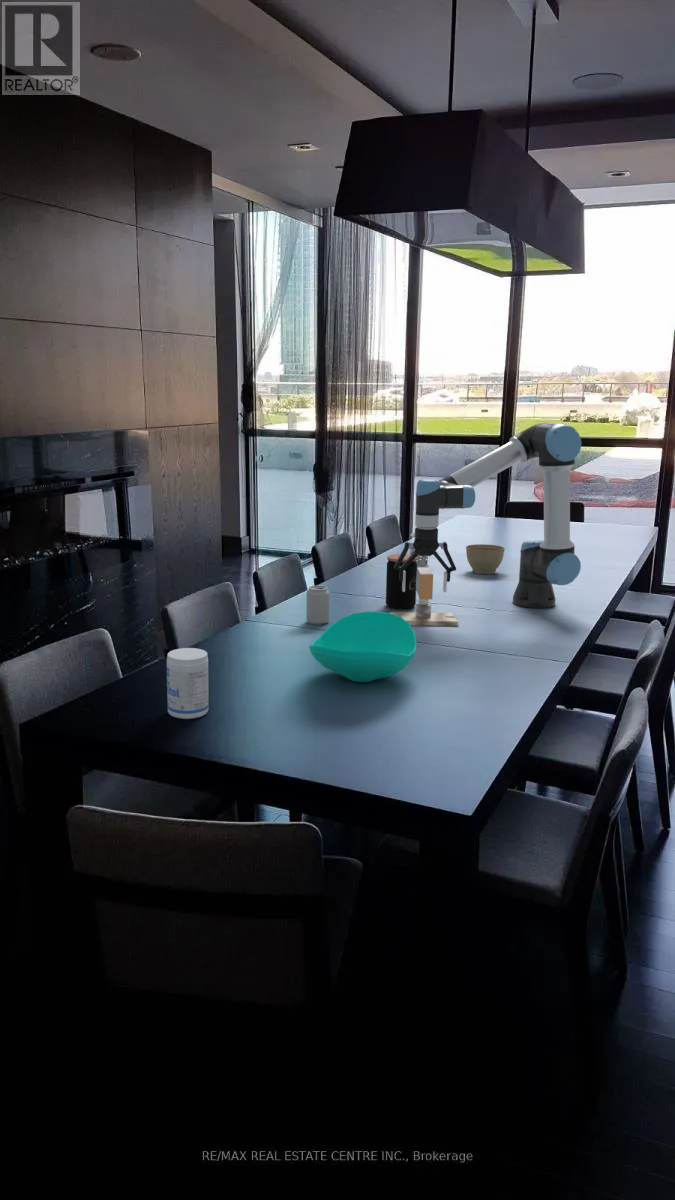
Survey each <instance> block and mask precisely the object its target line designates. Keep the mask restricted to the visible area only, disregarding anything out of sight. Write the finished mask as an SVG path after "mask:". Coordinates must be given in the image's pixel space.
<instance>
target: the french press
mask: <svg viewBox="0 0 675 1200" xmlns="http://www.w3.org/2000/svg"><path fill="white" fill-rule="evenodd" d="M409 537H412V538H415V531H414V532H412V533H409ZM414 551H415V548H414V547H413V546H412V547H411V548H410V549H409V555H412V553H413V552H414ZM428 557H429V556H420V555H418V556H417V560H416V563H417V567H428V568H430V565H429V564H428V562H429V561H428Z"/></svg>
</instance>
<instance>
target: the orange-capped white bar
mask: <svg viewBox="0 0 675 1200" xmlns="http://www.w3.org/2000/svg"><path fill="white" fill-rule="evenodd" d="M433 589H434V573H433V572H432V570H431V569H430V567H417V581H416V595H417V596H418V598H419V599H418V604H420V605H428V604H429V600H433V592H434V590H433Z"/></svg>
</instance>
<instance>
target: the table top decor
mask: <svg viewBox="0 0 675 1200" xmlns="http://www.w3.org/2000/svg"><path fill="white" fill-rule="evenodd" d="M417 646H418V645H417V638H416V634H415V631H414V630H413V628H412V625H410V624H409V623H408V622H406V621H405V620H404V619H403V618H402V617H400V616H397V615H394V614H391V613H389V612H382V611H361V612H353V613H352V614H348V615H346V616H343V617H341V618H339V619H338V620H336V621H335V622H334V623H332V624H331V625H329V627H328V628H326V630H325V631H324V632H322V634H321V635H320V636H318V637H317V638H315V640H314V641H312V643H311V644H310V645H309V650H310V654H311V655H312V657H313V658H314V659H315V660H316V662H318V663H319V664H321V666H323V667H324V668H326V669H327V670H329V671H332V672H333V673H335V674H338V675H340V676H342V677H345V679H348V680H350V681H352V682H359V683H369V682H373V681H375V680H381V679H385V678H388V677H391V676H395V675H396V674H398V673H399V672H401V671H402V670H403V669H405V668H406V666H408V664H409V663H410V662H412V661H411V660H413V658H414V657H415V654H416V649H417Z"/></svg>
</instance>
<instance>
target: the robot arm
mask: <svg viewBox="0 0 675 1200" xmlns="http://www.w3.org/2000/svg"><path fill="white" fill-rule="evenodd" d="M581 449H582V439H581V435H580V434H579V432H578V430H577V429H575V428H574V427H573V426H571V425H568V424H564V423H553V422H552V423H551V422H550V423H549V422H539V423H536V424H534V425H532V426H530V427H528V428H525V429H524V430H522V431H521V432H519V433H517V434H515V435H513V436H511V437H510V438H509V441H508V442H506V444H503V445H501V446H500V447H498V448H496V449H494V450H493V451H492V450H491V452H489V453H487V454H485V455H484V456H481V457H480V458H478V459H476V460H474V461H473V462H471V463H468V464H467V465H465V466H463V467H462V468H459V469H458V470H457V471H453V472H452V473H451V474H449V475H448V476H445V477H443V478H441V479H435V478H422V479H418V481H417V483H416V487H415V488H416V489H415V490H416V491H415V522H414V525H415V528H414V532H415V537H414V539H413V542H411V541H404V545H403V546H404V547H403V549H402V551H401V552H400V553H399V554H400V556H399V558H398V560H397V562H396V564H395V565H394V569H395V570H398V571H399V580H400V581H402V591H403V592H405V578H406V572H405V571H404V570H405V569H406V568H407V567H408V565H409V564H410V563H411V562H412V561H413V560H414V559H415V558H416V557H417V556H418V555H420V556H419V557H421V556H426V557H427V556H428V557H431V556H434V557H435V558H436V560H437V561H438V562H439V564H440V565H441V566H442V567H443V568H444V569H445V570H443V585H442V591H443V593H447V588H448V587H447V584H448V583H449V582H451V573H452V572H455V571H457V567H456V565H455V562H454V560H453V558H452V556H451V554H450V551H449V550H448V549H449V548H448V543H447V542H446V541H443V542H439V541H438V540H439V529H438V527H439V522H440V521H439V519H440V517H439V516H440V515H439V514H440V509H441V510H444V509H463V510H464V509H470V508H472V507H473V506H474V504H475V502H476V490H475V488H474V487H476V486H477V485H480V484H481V483H483V482H485V481H487V480H488V479H490V478H492V477H494V476H497V475H498V474H499V473H501V472H503V471H505V470H506V469H508V468H510V467H512V466H514V465H515V464H517V463H525V462H527V461H530V460H532V459H536V458H538V467H540V468H541V469H542V471H543V540H526V541H523V542H522V543H521V545H520V546H521V547H520V551H519V552H520V557H519V558H520V560H519V561H520V562H519V571H518V573H519V575H518V583H517V586H516V587H515V589H514V593H513V594H512V595H513V596H512V603H513V604H514V605H517V606H519V607H520V606H521V607H524V608H531V609H547V608H546V607H548V608H551V606H553V607H554V605H555V606H556V599H557V598H556V595H555V591H554V587H553V585H556V586H566V585H569V584H571V583H573V582H574V580H576V578H577V579H578V576H579V574H580V571H581V569H582V567H581V566H582V564H581V561H580V558H579V557H578V556H577V555H576V553H575V548H576V547H575V546H576V545H575V543H574V542H573V541H572V540H571V469H572V468H573V467H574V466H575V465H576V463H575V461H576V460H575V459H576V458H577V456H578V454H579V453H580V451H581ZM412 546H413V547H414V548H415V551H414V552H413V553H412V555H411V556H410V557H409V558H408V559H407V560H406V561H405V562H404V564H403V565H402V566H401V567H400V564H401V562H402V561H403V559H404V557H405V555H406V554H407V553H408V551H409V550H410V548H411V547H412ZM439 547H440V549H441V550H443V552H444V554H445V556H446V559H447V561H448V563H449V565H447V563H446V562H445V561H444V559H443V558H442V557H441V556H440V555H439V553H438V552H437V550H438V548H439Z"/></svg>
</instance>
